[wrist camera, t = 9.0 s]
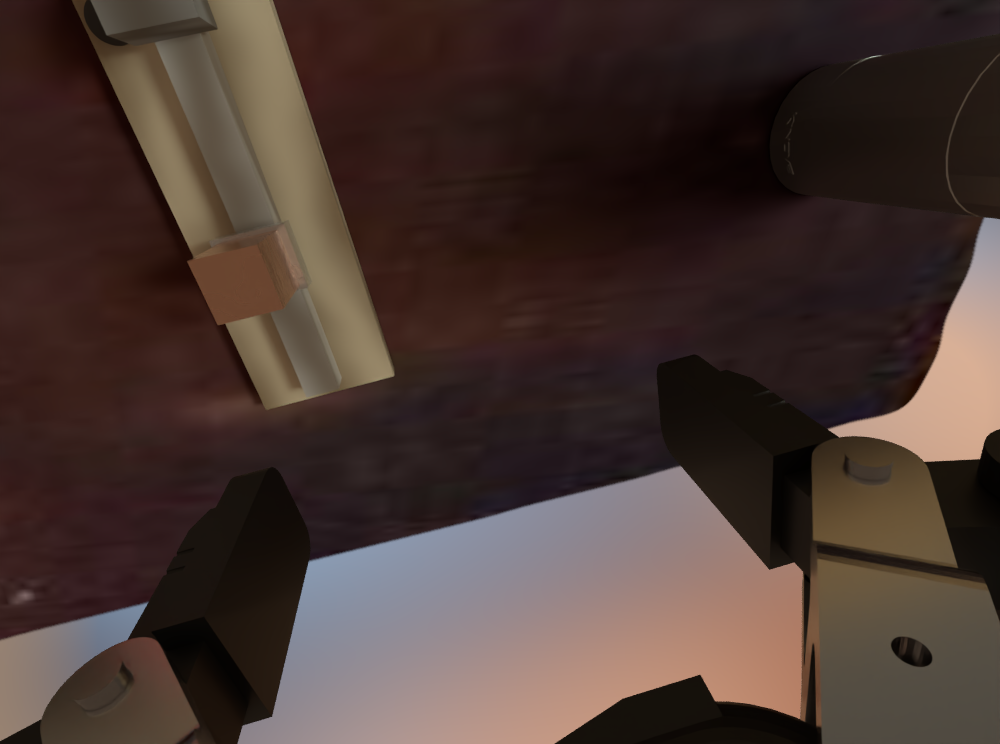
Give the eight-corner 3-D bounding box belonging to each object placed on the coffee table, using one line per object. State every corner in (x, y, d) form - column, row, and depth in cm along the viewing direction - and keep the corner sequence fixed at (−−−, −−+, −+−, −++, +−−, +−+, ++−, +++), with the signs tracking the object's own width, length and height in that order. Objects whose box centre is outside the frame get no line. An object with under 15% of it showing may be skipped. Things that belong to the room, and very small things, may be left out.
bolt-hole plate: (235, -113, 28) (192, -180, 22) (394, 368, 41) (393, 405, 35) (47, -78, 27) (-48, -139, 21) (270, 401, 40) (249, 444, 34)
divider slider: (294, 215, 33) (263, 237, 26) (316, 274, 35) (293, 311, 27) (227, 231, 33) (175, 258, 25) (252, 290, 35) (211, 331, 27)
